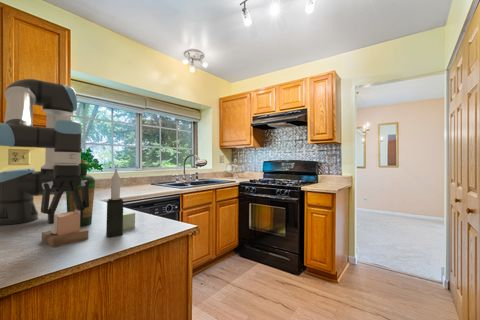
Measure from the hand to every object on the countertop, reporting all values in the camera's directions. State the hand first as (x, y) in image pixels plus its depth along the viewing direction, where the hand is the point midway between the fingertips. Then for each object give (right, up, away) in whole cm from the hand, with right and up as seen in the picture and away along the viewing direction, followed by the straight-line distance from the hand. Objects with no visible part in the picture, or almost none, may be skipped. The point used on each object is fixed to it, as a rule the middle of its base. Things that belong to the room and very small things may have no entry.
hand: (65, 230), depth 78 cm
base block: (0, -3, 0) cm, 3 cm away
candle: (+13, -4, +6) cm, 15 cm away
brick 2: (+12, -4, +16) cm, 20 cm away
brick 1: (0, 0, 0) cm, 0 cm away
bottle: (-9, -3, +19) cm, 21 cm away
